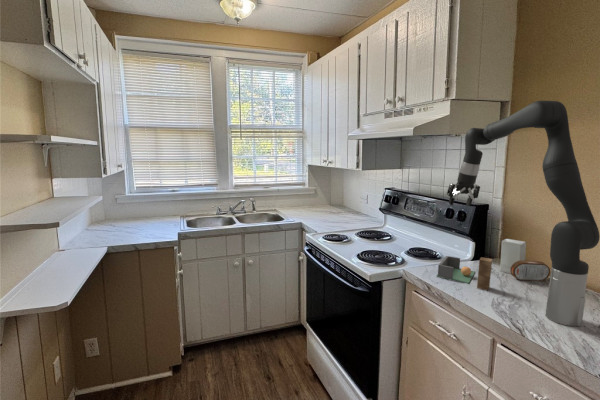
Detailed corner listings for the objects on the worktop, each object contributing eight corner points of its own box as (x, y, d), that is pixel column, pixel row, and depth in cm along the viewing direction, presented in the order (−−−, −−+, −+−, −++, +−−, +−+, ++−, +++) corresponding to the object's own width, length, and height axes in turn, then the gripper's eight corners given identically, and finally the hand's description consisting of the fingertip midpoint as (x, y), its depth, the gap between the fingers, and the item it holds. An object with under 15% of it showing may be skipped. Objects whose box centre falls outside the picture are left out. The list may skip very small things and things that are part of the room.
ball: (471, 275, 148) (472, 266, 147) (469, 277, 144) (470, 269, 144) (461, 273, 150) (462, 264, 149) (459, 275, 147) (460, 267, 146)
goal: (474, 272, 152) (475, 260, 151) (468, 283, 139) (469, 271, 139) (444, 266, 160) (445, 255, 159) (436, 276, 147) (437, 264, 146)
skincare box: (524, 273, 151) (527, 241, 149) (518, 276, 147) (522, 244, 145) (504, 268, 158) (507, 237, 155) (498, 270, 154) (501, 239, 152)
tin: (545, 279, 144) (547, 260, 143) (550, 282, 141) (552, 263, 140) (508, 278, 146) (510, 259, 145) (512, 280, 143) (514, 262, 142)
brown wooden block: (489, 287, 136) (492, 259, 134) (488, 290, 133) (490, 261, 131) (478, 284, 138) (481, 257, 136) (476, 288, 135) (479, 259, 133)
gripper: (458, 173, 147) (449, 207, 153) (488, 175, 149) (478, 209, 155) (449, 169, 154) (441, 201, 160) (478, 171, 156) (468, 203, 162)
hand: (459, 205), depth 157 cm, fingers open, 8 cm apart
